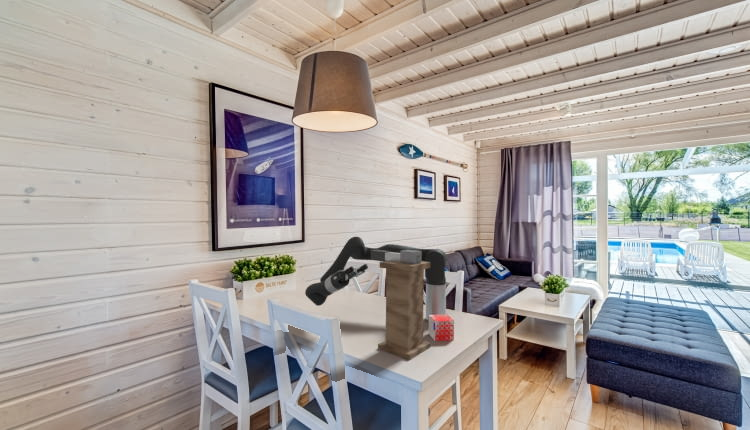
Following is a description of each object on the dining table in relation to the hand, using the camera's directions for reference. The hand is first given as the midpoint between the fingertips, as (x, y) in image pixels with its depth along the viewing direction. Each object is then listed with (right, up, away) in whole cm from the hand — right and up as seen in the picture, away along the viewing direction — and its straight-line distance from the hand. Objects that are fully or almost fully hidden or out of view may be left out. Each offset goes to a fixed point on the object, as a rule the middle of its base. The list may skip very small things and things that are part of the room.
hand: (360, 267), depth 134 cm
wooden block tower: (+16, -28, -14) cm, 35 cm away
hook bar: (+14, +4, -11) cm, 18 cm away
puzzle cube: (+33, -28, -3) cm, 44 cm away
